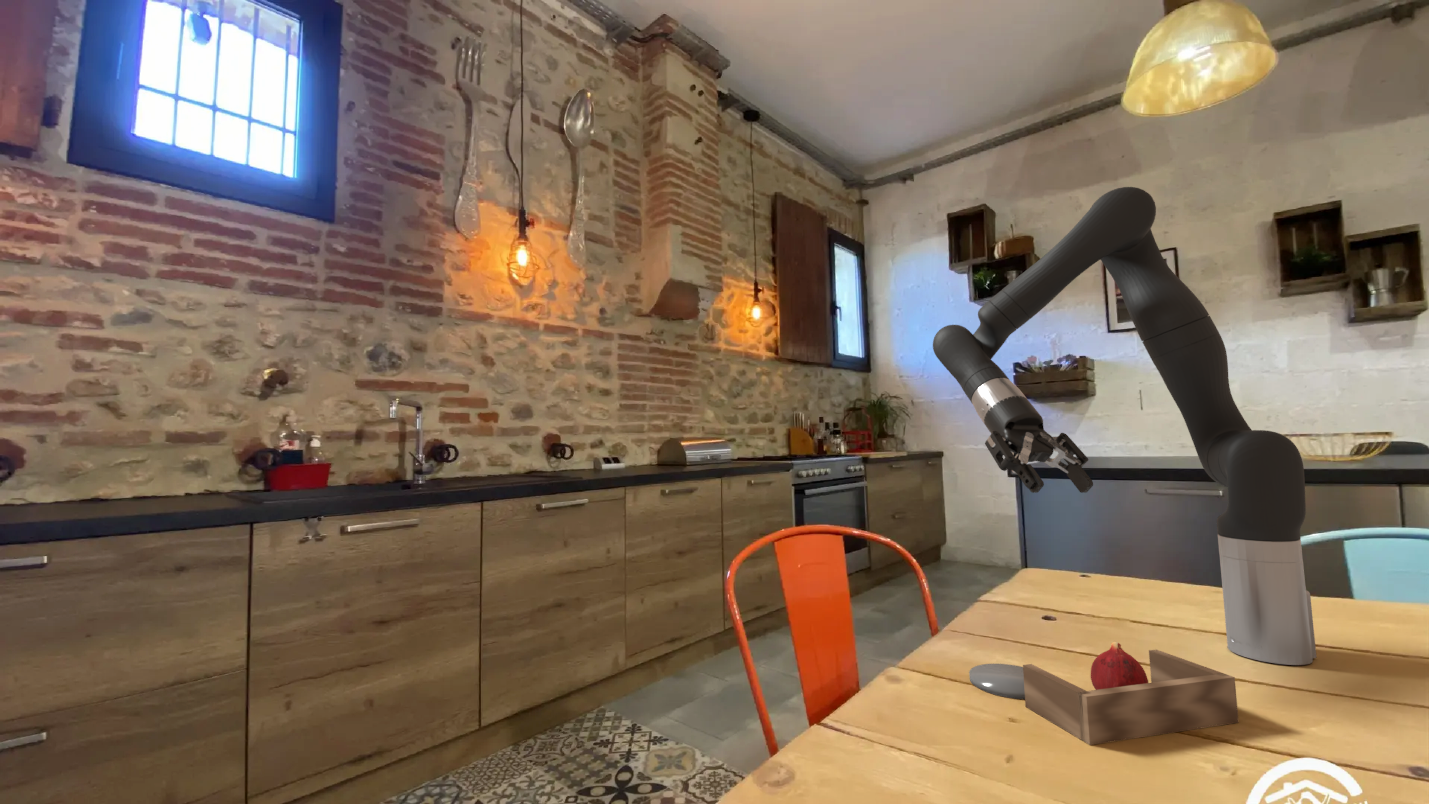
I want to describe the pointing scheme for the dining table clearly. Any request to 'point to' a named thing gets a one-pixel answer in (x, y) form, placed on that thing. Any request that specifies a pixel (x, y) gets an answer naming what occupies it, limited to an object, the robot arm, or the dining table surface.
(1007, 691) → the stone
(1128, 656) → the onion
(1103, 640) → the dining table surface
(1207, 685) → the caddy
